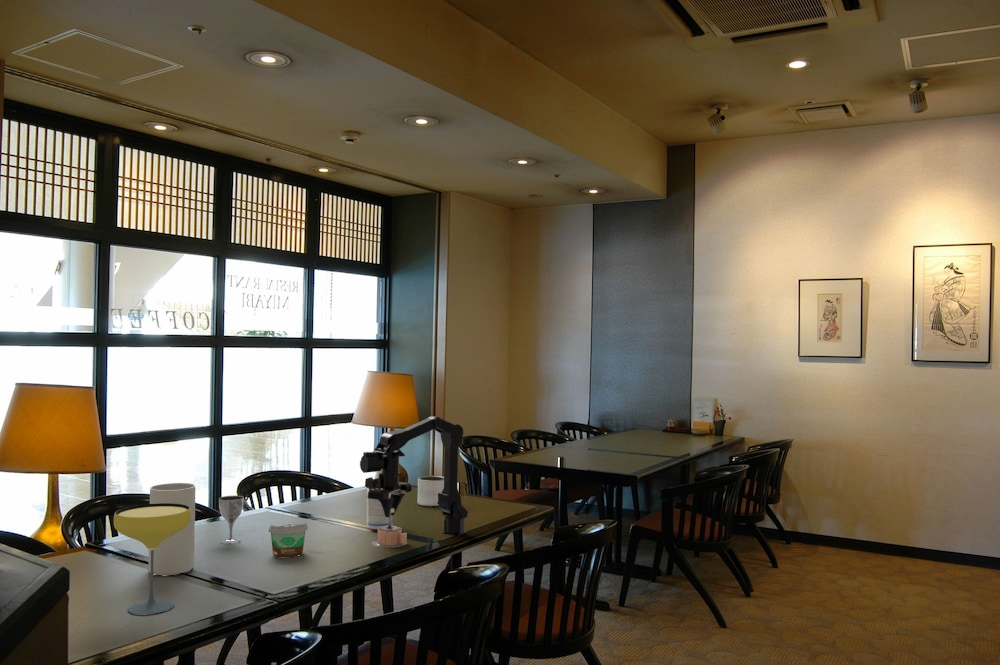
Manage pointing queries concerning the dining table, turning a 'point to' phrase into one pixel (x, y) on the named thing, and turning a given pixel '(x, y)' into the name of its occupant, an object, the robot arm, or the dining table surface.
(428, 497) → the planter
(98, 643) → the dining table surface
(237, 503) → the wine glass
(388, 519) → the plunger
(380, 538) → the orange slatted barrel
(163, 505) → the cocktail glass
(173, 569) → the cylinder vase
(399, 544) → the disc
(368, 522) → the supplement tub
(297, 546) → the food container
